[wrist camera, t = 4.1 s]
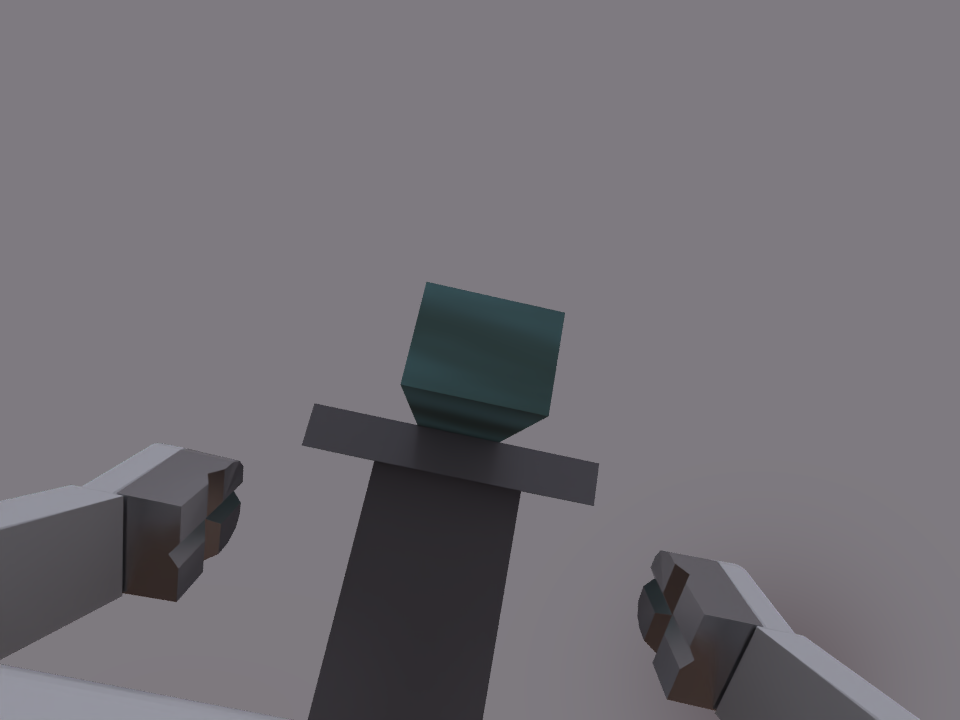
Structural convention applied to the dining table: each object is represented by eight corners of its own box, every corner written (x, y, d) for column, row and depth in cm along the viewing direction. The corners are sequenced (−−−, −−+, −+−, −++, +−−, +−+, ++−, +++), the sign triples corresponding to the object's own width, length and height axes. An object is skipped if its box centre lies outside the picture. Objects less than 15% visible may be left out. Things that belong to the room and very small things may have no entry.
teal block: (548, 416, 12) (564, 312, 13) (400, 384, 12) (426, 281, 12) (471, 456, 39) (478, 423, 40) (426, 447, 39) (434, 413, 39)
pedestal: (500, 1247, 15) (599, 463, 22) (77, 1187, 14) (314, 403, 21) (471, 878, 28) (537, 467, 35) (252, 841, 28) (362, 431, 35)
